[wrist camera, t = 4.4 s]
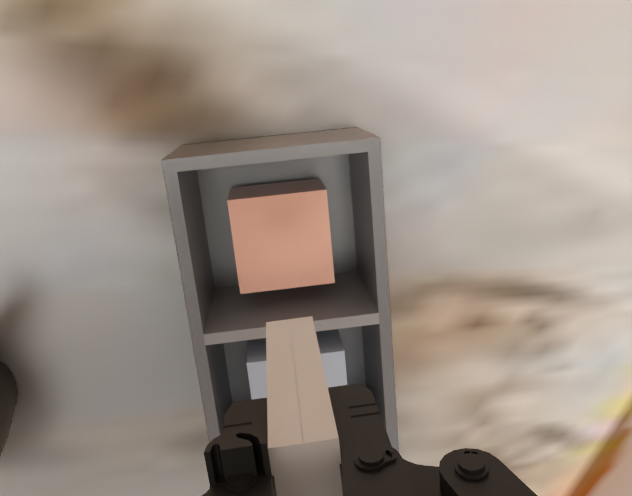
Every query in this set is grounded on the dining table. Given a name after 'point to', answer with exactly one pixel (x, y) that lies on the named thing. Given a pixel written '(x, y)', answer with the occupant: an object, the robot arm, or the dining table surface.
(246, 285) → the key
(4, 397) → the mug
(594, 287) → the dining table surface
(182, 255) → the compartment tray
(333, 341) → the key
